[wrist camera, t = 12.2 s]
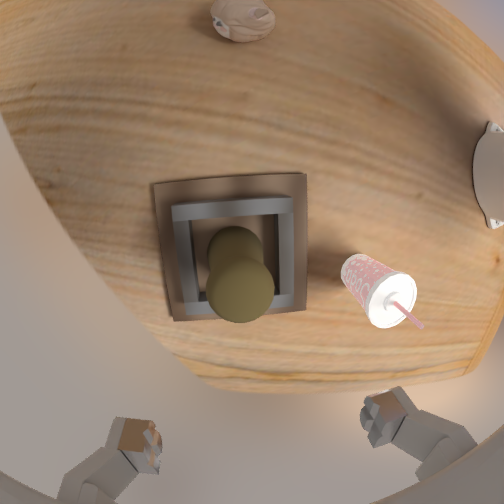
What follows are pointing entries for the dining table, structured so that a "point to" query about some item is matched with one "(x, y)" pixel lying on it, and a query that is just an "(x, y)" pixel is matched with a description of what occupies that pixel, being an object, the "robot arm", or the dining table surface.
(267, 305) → the olive pawn peg
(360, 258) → the beverage cup
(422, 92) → the dining table surface
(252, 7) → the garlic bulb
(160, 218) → the socket base
